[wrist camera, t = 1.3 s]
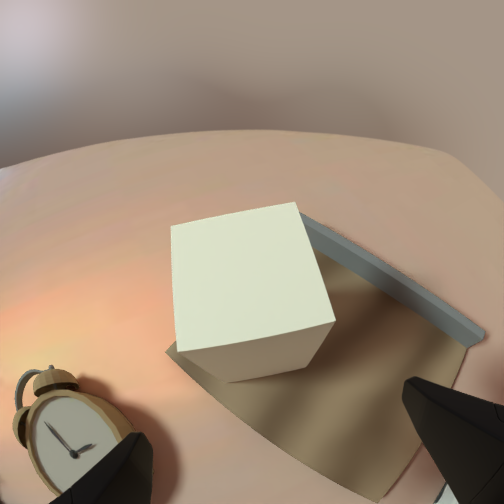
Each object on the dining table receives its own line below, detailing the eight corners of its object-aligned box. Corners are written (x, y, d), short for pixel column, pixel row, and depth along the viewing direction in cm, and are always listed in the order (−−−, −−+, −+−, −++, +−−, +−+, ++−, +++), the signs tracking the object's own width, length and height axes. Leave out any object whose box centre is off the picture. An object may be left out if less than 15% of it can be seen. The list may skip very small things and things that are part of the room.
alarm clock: (100, 536, 10) (-15, 414, 12) (119, 517, 14) (14, 415, 17) (162, 460, 14) (28, 331, 17) (175, 446, 19) (57, 343, 22)
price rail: (464, 342, 19) (485, 330, 16) (461, 351, 19) (483, 339, 16) (286, 227, 27) (287, 203, 24) (280, 234, 27) (280, 210, 24)
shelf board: (461, 351, 19) (467, 348, 18) (373, 500, 13) (377, 503, 12) (280, 234, 27) (280, 227, 26) (169, 354, 21) (164, 352, 21)
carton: (306, 367, 19) (335, 320, 10) (225, 383, 19) (177, 351, 10) (287, 293, 23) (293, 198, 13) (214, 307, 22) (171, 222, 13)
